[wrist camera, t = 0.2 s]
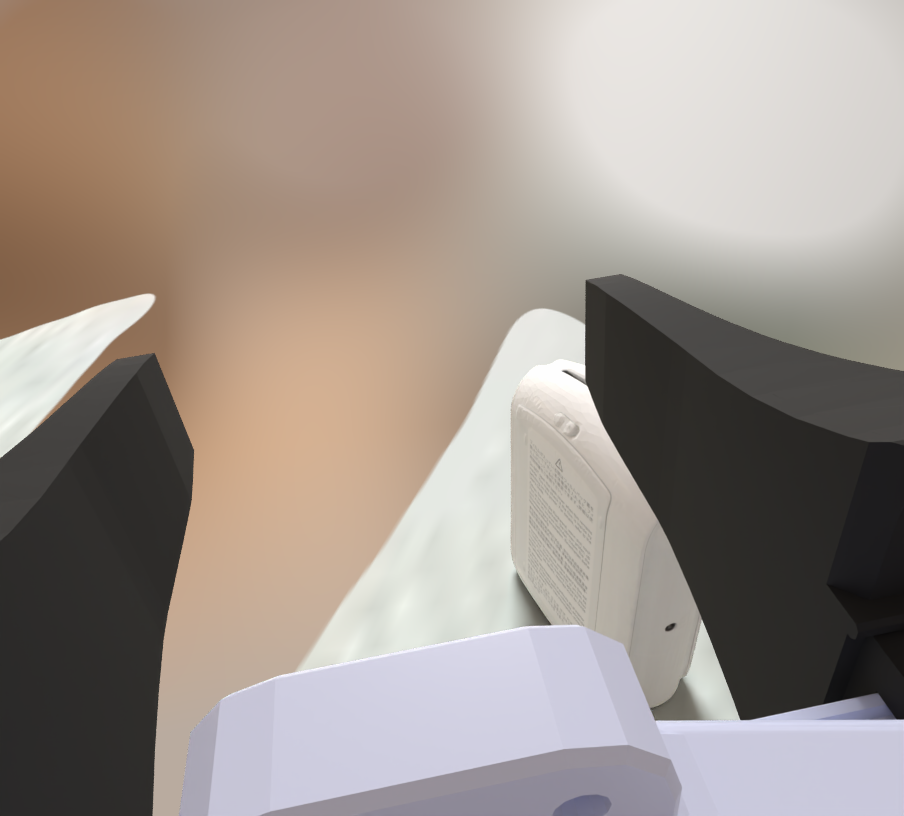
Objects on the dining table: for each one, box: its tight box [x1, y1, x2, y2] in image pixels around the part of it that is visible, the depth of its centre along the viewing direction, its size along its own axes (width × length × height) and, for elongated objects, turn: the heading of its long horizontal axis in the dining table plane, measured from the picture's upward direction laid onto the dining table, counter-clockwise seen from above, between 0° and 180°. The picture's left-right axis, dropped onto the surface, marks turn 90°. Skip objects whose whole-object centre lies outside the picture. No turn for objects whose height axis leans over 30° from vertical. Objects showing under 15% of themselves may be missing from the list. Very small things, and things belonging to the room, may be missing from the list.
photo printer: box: [511, 360, 702, 708], centre depth 30 cm, size 10×4×12 cm, turn 24°
